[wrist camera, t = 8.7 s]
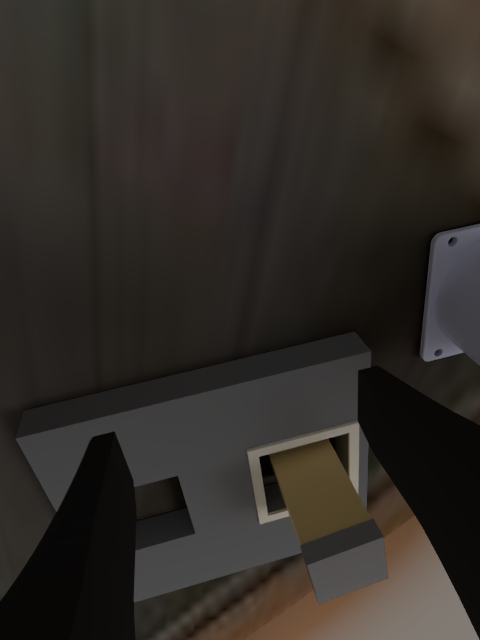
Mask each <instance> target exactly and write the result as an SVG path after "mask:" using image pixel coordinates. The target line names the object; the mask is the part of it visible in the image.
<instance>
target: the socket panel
mask: <svg viewBox="0 0 480 640" xmlns="http://www.w3.org/2000/svg"><path fill="white" fill-rule="evenodd" d="M369 367H371V350H370V349H369V348H368V347H367V345H366V344H365V343H364V342H363V341H362V340H361V338H360V337H359V336H358V335H357V334H356V332H351V333H346V334H342V335H338V336H334V337H330V338H325V339H321V340H317V341H313V342H309V343H305V344H300V345H296V346H292V347H288V348H284V349H279V350H275V351H271V352H267V353H263V354H258V355H254V356H250V357H246V358H242V359H238V360H233V361H229V362H225V363H221V364H217V365H212V366H208V367H204V368H200V369H196V370H192V371H187V372H183V373H179V374H175V375H171V376H166V377H162V378H158V379H154V380H150V381H145V382H141V383H137V384H133V385H129V386H125V387H120V388H116V389H112V390H108V391H104V392H99V393H95V394H91V395H87V396H83V397H78V398H74V399H70V400H66V401H62V402H58V403H53V404H49V405H45V406H41V407H37V408H32V409H28V410H24V411H23V415H22V418H21V421H20V425H19V428H18V432H17V435H16V438H15V439H16V441H17V442H18V444H19V446H20V448H21V450H22V451H23V453H24V455H25V457H26V459H27V460H28V462H29V464H30V466H31V468H32V469H33V471H34V473H35V475H36V477H37V478H38V480H39V482H40V484H41V486H42V487H43V489H44V491H45V493H46V495H47V496H48V498H49V500H50V502H51V504H52V505H53V507H54V509H55V511H56V512H57V510H58V509H59V507H60V505H61V503H62V501H63V499H64V497H65V495H66V493H67V491H68V489H69V487H70V484H71V482H72V480H73V478H74V476H75V474H76V472H77V469H78V467H79V465H80V463H81V460H82V458H83V456H84V453H85V451H86V449H87V446H88V444H89V441H90V440H91V438H92V437H94V436H98V435H102V434H106V433H110V432H114V431H115V433H116V436H117V439H118V441H119V444H120V446H121V449H122V452H123V454H124V457H125V459H126V462H127V464H128V467H129V470H130V472H131V475H132V477H133V480H134V487H137V486H141V485H145V484H148V483H152V482H156V481H160V480H163V479H167V478H171V477H175V476H178V478H179V481H180V485H181V488H182V491H183V494H184V498H185V501H186V504H187V508H183V509H180V510H176V511H172V512H169V513H165V514H162V515H158V516H154V517H151V518H147V519H143V520H140V521H136V549H135V578H134V602H138V601H141V600H144V599H148V598H151V597H154V596H158V595H161V594H165V593H168V592H171V591H175V590H178V589H181V588H185V587H188V586H191V585H195V584H198V583H202V582H205V581H208V580H212V579H215V578H218V577H222V576H225V575H229V574H232V573H235V572H239V571H242V570H245V569H249V568H252V567H255V566H259V565H262V564H266V563H269V562H272V561H276V560H279V559H282V558H286V557H289V556H293V555H296V554H299V553H302V551H301V548H300V544H299V541H298V539H297V536H296V533H295V530H294V527H293V525H292V522H291V519H290V516H289V513H288V511H287V508H286V505H285V502H284V499H283V497H282V494H281V491H280V488H279V485H278V483H274V484H270V485H267V486H263V479H262V473H261V467H260V460H259V457H261V456H264V455H268V454H272V453H276V452H279V451H283V450H287V449H290V448H294V447H298V446H302V445H305V444H309V443H313V442H317V441H320V440H324V439H328V438H332V437H335V450H336V454H337V456H338V458H339V460H340V462H341V463H342V465H343V467H344V469H345V471H346V473H347V475H348V477H349V478H350V480H351V482H352V484H353V486H354V488H355V490H356V492H357V494H358V495H359V497H360V499H361V501H362V503H363V505H364V507H365V509H366V508H367V476H368V441H367V439H366V437H365V435H364V433H363V431H362V429H361V427H360V425H359V423H358V421H357V419H358V370H361V369H365V368H369Z"/></svg>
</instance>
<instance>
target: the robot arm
mask: <svg viewBox="0 0 480 640" xmlns="http://www.w3.org/2000/svg"><path fill="white" fill-rule="evenodd" d="M452 237H453V239H452V241H451V242H450V243H449V244H448V241H449V240H450V239H451V238H452ZM437 350H438V351H437ZM436 351H437V352H436ZM460 353H466V354H467V355H468V356H469V357H470V358H471V359H472V360H474V361H475V362H476V363H477V364H478V365H479V366H480V224H476V225H472V226H467V227H462V228H458V229H453V230H449V231H444V232H440V233H438V234H436V235H435V236H434V237H433V239H432V241H431V246H430V256H429V266H428V276H427V286H426V295H425V305H424V315H423V325H422V335H421V345H420V357H421V358H422V359H423V360H424V361H432V360H436V359H440V358H444V357H448V356H452V355H456V354H460ZM357 421H358V423H359V425H360V427H361V429H362V431H363V433H364V435H365V437H366V439H367V441H368V443H369V445H370V447H371V449H372V451H373V452H374V454H375V456H376V457H377V459H378V460H379V462H380V463H381V465H382V466H383V468H384V469H385V471H386V472H387V474H388V475H389V477H390V478H391V480H392V481H393V483H394V484H395V486H396V487H397V489H398V490H399V492H400V493H401V495H402V496H403V498H404V499H405V501H406V502H407V504H408V505H409V507H410V508H411V510H412V511H413V513H414V514H415V516H416V517H417V519H418V521H419V522H420V524H421V526H422V527H423V529H424V530H425V533H426V535H427V536H428V538H429V540H430V542H431V544H432V546H433V547H434V549H435V551H436V553H437V555H438V557H439V559H440V561H441V562H442V564H443V566H444V568H445V570H446V572H447V574H448V576H449V578H450V580H451V582H452V584H453V586H454V588H455V590H456V592H457V594H458V596H459V597H460V600H461V602H462V604H463V606H464V608H465V610H466V612H467V614H468V616H469V618H470V621H471V623H472V625H473V627H474V629H475V631H476V633H477V635H478V637H479V639H480V425H478V424H476V423H474V422H472V421H470V420H468V419H466V418H464V417H463V416H461V415H459V414H457V413H455V412H453V411H451V410H450V409H448V408H446V407H444V406H442V405H441V404H439V403H437V402H435V401H434V400H432V399H430V398H429V397H427V396H425V395H424V394H422V393H420V392H419V391H417V390H416V389H414V388H412V387H411V386H409V385H408V384H406V383H404V382H403V381H401V380H400V379H398V378H397V377H395V376H393V375H392V374H390V373H389V372H387V371H385V370H384V369H382V368H381V367H379V366H373V367H369V368H365V369H361V370H358V419H357ZM135 549H136V503H135V491H134V480H133V477H132V475H131V472H130V470H129V467H128V464H127V462H126V459H125V457H124V454H123V452H122V449H121V446H120V444H119V441H118V439H117V436H116V433H115V431H114V432H110V433H106V434H102V435H98V436H94V437H92V438H91V440H90V441H89V444H88V446H87V449H86V451H85V453H84V456H83V458H82V460H81V463H80V465H79V467H78V469H77V472H76V474H75V476H74V478H73V480H72V482H71V484H70V487H69V489H68V491H67V493H66V495H65V497H64V499H63V501H62V503H61V505H60V507H59V509H58V510H57V512H56V514H55V516H54V518H53V520H52V521H51V523H50V525H49V527H48V529H47V530H46V532H45V534H44V536H43V538H42V539H41V541H40V543H39V544H38V546H37V548H36V549H35V551H34V553H33V554H32V556H31V557H30V559H29V561H28V562H27V564H26V565H25V567H24V568H23V570H22V571H21V573H20V574H19V576H18V577H17V579H16V580H15V582H14V583H13V584H12V586H11V587H10V589H9V590H8V592H7V593H6V594H5V596H4V597H3V599H2V600H1V601H0V640H135V625H134V578H135Z"/></svg>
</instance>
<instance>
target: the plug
mask: <svg viewBox="0 0 480 640" xmlns="http://www.w3.org/2000/svg"><path fill="white" fill-rule="evenodd" d="M268 455H269V458H270V461H271V464H272V468H273V471H274V474H275V477H276V480H277V483H278V485H279V488H280V491H281V494H282V497H283V499H284V502H285V505H286V508H287V511H288V513H289V516H290V519H291V522H292V525H293V527H294V530H295V533H296V536H297V539H298V541H299V544H300V548H301V551H302V554H303V557H304V561H305V564H306V567H307V570H308V574H309V577H310V580H311V583H312V586H313V589H314V592H315V595H316V598H317V601H318V603H319V604H321V603H323V602H326V601H329V600H331V599H334V598H337V597H339V596H342V595H345V594H347V593H350V592H353V591H355V590H358V589H360V588H363V587H366V586H369V585H371V584H374V583H377V582H379V581H382V580H384V579H387V578H388V570H387V562H386V553H385V546H384V537H383V535H382V533H381V531H380V530H379V528H378V526H377V524H376V522H375V520H374V518H373V519H371V518H370V516H369V514H368V512H367V510H366V509H365V507H364V505H363V503H362V501H361V499H360V497H359V495H358V494H357V492H356V490H355V488H354V486H353V484H352V482H351V480H350V478H349V477H348V475H347V473H346V471H345V469H344V467H343V465H342V463H341V462H340V460H339V458H338V456H337V454H336V452H335V450H334V448H333V447H332V445H331V443H330V441H329V439H324V440H320V441H317V442H313V443H309V444H305V445H302V446H298V447H294V448H290V449H287V450H283V451H279V452H276V453H272V454H268Z"/></svg>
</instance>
